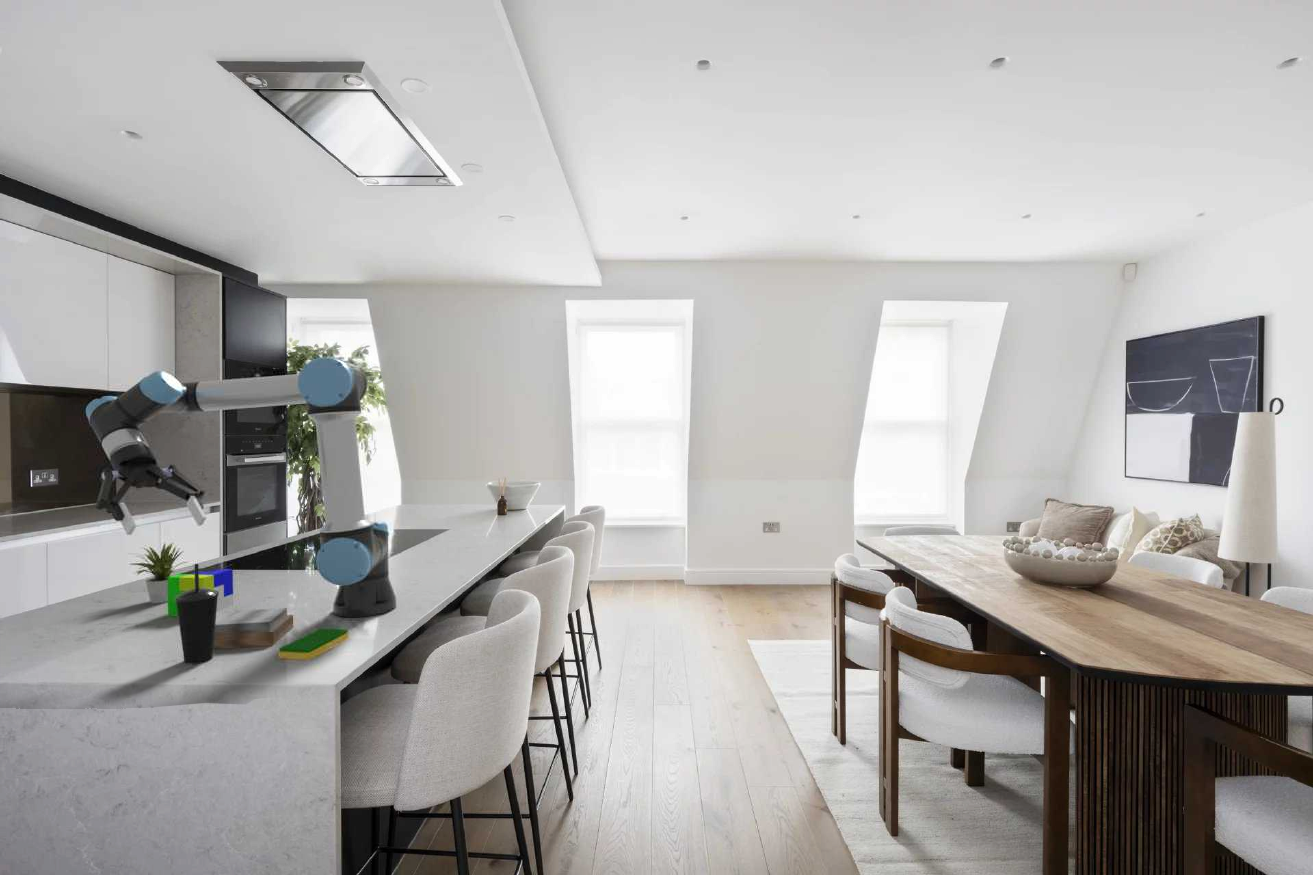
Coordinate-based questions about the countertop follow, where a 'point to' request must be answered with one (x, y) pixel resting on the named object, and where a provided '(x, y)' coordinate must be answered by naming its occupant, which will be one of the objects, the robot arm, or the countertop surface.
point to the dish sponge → (313, 644)
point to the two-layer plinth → (252, 628)
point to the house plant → (159, 572)
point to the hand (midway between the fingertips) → (168, 525)
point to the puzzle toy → (202, 586)
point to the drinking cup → (197, 621)
